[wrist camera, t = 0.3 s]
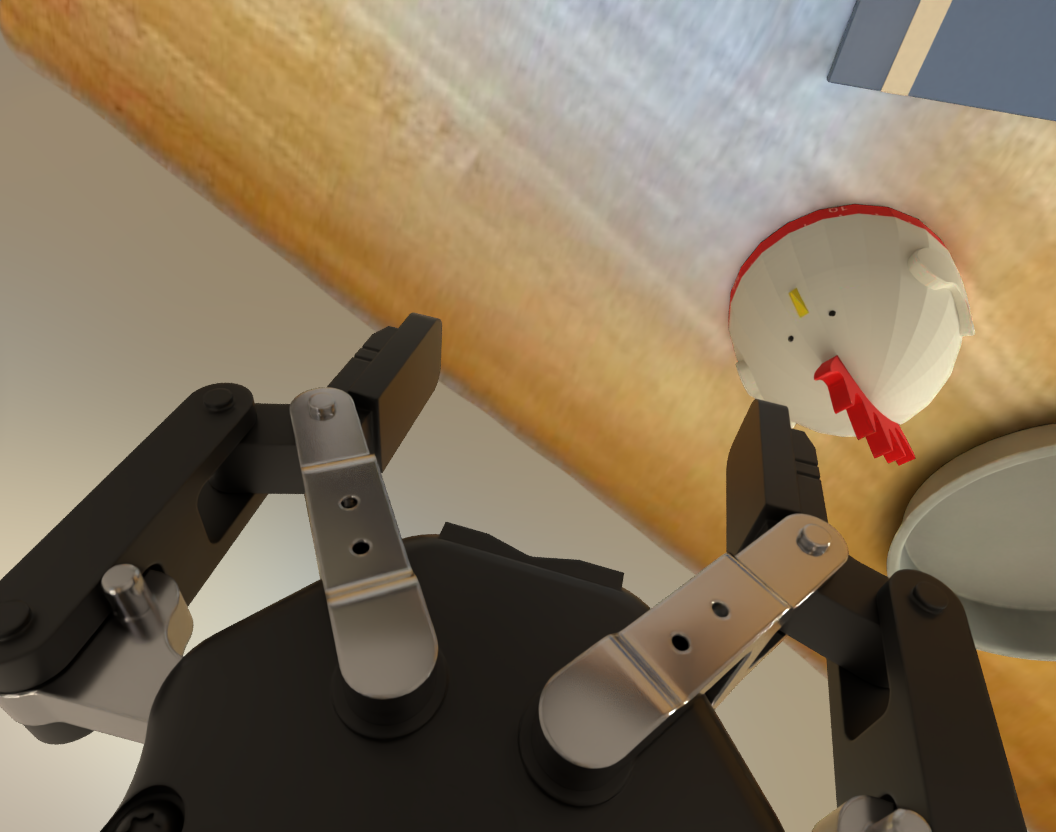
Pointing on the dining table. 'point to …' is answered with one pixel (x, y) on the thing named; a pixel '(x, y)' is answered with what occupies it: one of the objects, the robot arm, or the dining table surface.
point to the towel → (954, 52)
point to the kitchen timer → (850, 322)
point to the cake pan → (992, 540)
